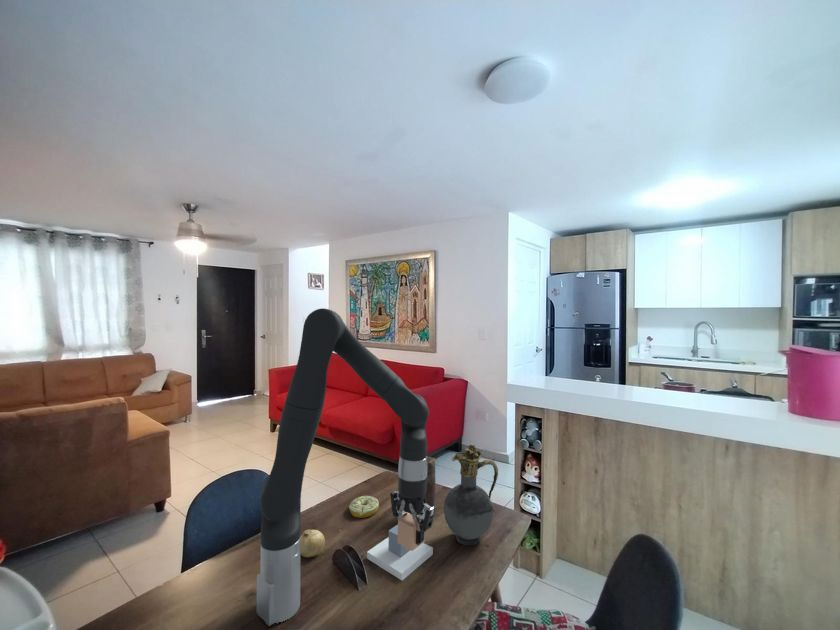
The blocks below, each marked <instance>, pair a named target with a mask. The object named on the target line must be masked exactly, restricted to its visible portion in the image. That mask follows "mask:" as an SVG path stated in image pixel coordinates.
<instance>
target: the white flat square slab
mask: <svg viewBox="0 0 840 630" xmlns="http://www.w3.org/2000/svg"><path fill="white" fill-rule="evenodd" d="M388 548H389V536H388V537H386V538H385V539H384V540H382V541H380V542H379V543H378V544H375V546H374V547H371V549H368V551H367V552H366V559H367V560H369V561H371V562H372V563H374V564H375V565H377V566H378V567H379V568H381V569H383V570H385V571H386V572H387V573H389V574H391V575H392V576H394V577H396V578H397V579H399V581H404V580H405V579H406V578H407V577H408V576H410V574H412V573H414V571H415V570H417V569H418V568H419V567H420V566H421V565H422V564H424V563H425V562H426V561H427V560H428V559H429V558H431V557H432V556H433V554H434V552H433V551H434V548H433V547H432V546H430V545H428V544H427V543H422V544H421V545H420V546H418V547H417V548H416V549H414V550H413V551H411V550H410V551H409V552H408V553H406V554H405V555H404V556H402V557H401V558H400V557H399V556H397V555H395V554H394V553H392V552H390V551H388Z"/></svg>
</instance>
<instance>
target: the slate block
mask: <svg viewBox="0 0 840 630" xmlns="http://www.w3.org/2000/svg"><path fill="white" fill-rule="evenodd" d="M388 537H389V548H388V551H390V552H392V553H394V554H395V555H397V556H399V557H400V558H401V557H402V556H404V555H405V554H406V553H408V552H409V551H410V550H409V549H407V548H406V547H404V546H402V545H400V544H399V543H397V539H398V524H396V525H395V526H393V527H392V528H390V529H389V530H388Z"/></svg>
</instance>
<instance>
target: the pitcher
mask: <svg viewBox="0 0 840 630" xmlns="http://www.w3.org/2000/svg"><path fill="white" fill-rule="evenodd" d="M464 451H465V452H464ZM464 451H463V452H457V453H456V452H455V455H453V457H451V461H453V462H455V461H458V463H459V465H460V472H459V473H460V484H457V485H456V486H454V487H453V488H452V489H450V490H449V491H448V493H447V495H446V497H445V499H444V504H443V515H444V518H445V522H446V525H447V526H448V528H449V529H450V530H451V532H452V533H453V534H454V535H455V539H456V541H457V542H458V543H459V544H460V545H463V546H473V545H476V544H478V543H479V542H480V541H481V537H482V536H483V535H485V533H487V532H488V531H489V530H490V528H491V525H492V522H493V520H494V519H493V518H494V514H495V509H494V507H493V504H492V499H491V498H492V497H491V496H492V492H493V490H494V488H495V486H496V483H497V480H498V476H499V467H498V464H497V463H496V462H495V461H494V460H492V459H484V460H483V461H479V460H480V459H481V458H482V452H483V450H479V449H478V448H476V445H475V444H469V445H467V446H466V448H465V450H464ZM487 465H489V466H490V465H491V466H492V468H493V471H494V474H493V481H492V484H491V486H490V490H489V492H488V493H487V492H486V490H485V489H483V488H482V487H480V486H478V485H477V476H478V470H479V469H481V468H483V467H485V466H487Z"/></svg>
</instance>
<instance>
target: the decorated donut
mask: <svg viewBox="0 0 840 630" xmlns="http://www.w3.org/2000/svg"><path fill="white" fill-rule="evenodd" d="M379 505H380V503H379V500H378V499H377V498H376V497H374V496H370V495H362V496H358V497H356V498H355V499H352V501H351V502H350V504H349V506H348V509H349V513H350V514H351V515H352V516H353V517H354V518H358V519H363V518H365V519H366V518H367V517H368V518H369V517H371V516H374V515H375V514H376V513H377V511H378V510H379Z"/></svg>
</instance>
